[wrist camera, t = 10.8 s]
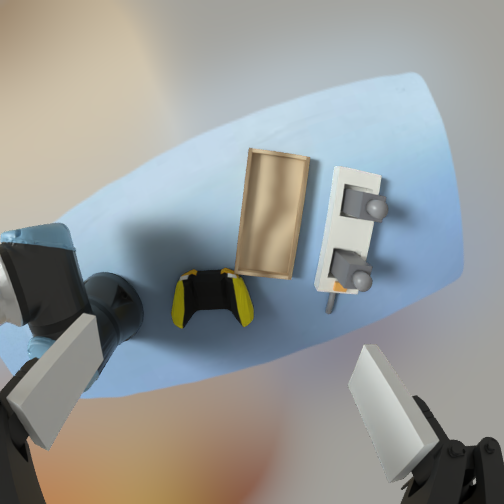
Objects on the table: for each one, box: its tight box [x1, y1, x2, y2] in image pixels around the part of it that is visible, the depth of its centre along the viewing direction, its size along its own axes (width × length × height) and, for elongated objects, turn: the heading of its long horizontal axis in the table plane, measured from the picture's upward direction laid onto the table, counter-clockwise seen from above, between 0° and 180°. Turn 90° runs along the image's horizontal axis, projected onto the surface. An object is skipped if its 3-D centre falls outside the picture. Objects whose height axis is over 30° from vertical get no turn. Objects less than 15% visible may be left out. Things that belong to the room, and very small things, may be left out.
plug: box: [340, 188, 388, 223], centre depth 41 cm, size 4×4×12 cm
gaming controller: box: [171, 268, 254, 329], centre depth 48 cm, size 15×6×10 cm
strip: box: [314, 166, 381, 314], centre depth 47 cm, size 8×28×4 cm, turn 173°
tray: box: [234, 148, 310, 280], centre depth 46 cm, size 10×21×2 cm, turn 173°
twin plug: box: [329, 249, 372, 292], centre depth 44 cm, size 4×4×12 cm
